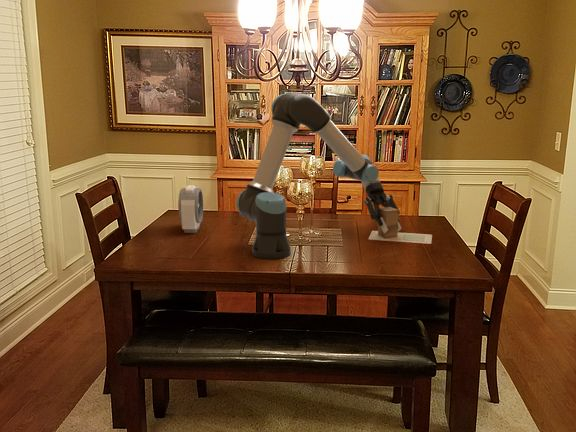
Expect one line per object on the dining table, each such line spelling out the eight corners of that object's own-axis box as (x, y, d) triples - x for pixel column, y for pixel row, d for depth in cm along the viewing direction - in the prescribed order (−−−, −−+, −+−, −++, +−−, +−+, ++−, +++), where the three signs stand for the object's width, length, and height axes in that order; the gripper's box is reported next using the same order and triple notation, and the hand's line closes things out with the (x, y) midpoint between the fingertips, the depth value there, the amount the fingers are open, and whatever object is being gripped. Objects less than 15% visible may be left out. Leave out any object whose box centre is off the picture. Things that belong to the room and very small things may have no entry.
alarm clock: (198, 235, 256) (196, 189, 251) (178, 235, 256) (176, 189, 251) (204, 224, 274) (202, 182, 269) (186, 224, 274) (184, 182, 269)
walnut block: (397, 236, 250) (398, 209, 247) (385, 238, 247) (386, 211, 245) (389, 233, 255) (390, 206, 252) (377, 235, 253) (378, 208, 250)
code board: (431, 245, 240) (431, 243, 240) (367, 240, 247) (368, 239, 247) (432, 236, 253) (432, 234, 253) (372, 232, 260) (372, 230, 260)
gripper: (387, 189, 265) (407, 232, 254) (350, 192, 257) (370, 238, 246) (394, 179, 259) (415, 223, 248) (357, 183, 251) (377, 228, 240)
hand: (392, 230), depth 247 cm, fingers closed on walnut block, 6 cm apart
